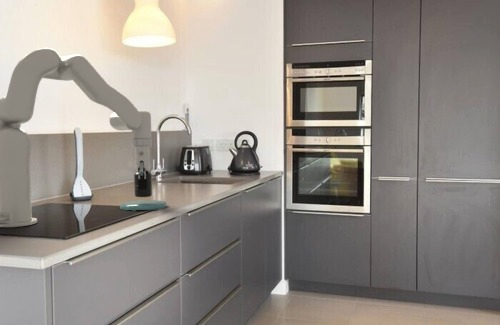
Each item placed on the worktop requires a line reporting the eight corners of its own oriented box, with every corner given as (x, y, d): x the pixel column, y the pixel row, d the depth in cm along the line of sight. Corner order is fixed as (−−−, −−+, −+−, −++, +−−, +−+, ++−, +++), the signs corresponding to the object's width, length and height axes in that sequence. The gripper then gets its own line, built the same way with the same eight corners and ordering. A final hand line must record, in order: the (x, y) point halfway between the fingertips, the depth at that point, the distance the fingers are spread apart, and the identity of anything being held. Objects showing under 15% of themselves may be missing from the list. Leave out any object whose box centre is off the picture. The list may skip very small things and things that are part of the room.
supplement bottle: (134, 197, 194) (133, 166, 194) (134, 195, 201) (133, 165, 200) (153, 196, 196) (152, 166, 195) (151, 194, 203) (150, 164, 202)
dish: (150, 211, 187) (150, 207, 187) (110, 209, 194) (110, 205, 194) (175, 205, 204) (175, 201, 204) (137, 203, 210) (137, 199, 210)
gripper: (150, 143, 189) (152, 190, 190) (152, 142, 206) (153, 185, 208) (130, 143, 188) (131, 191, 189) (133, 142, 205) (135, 186, 206)
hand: (143, 188), depth 198 cm, fingers closed on supplement bottle, 6 cm apart
